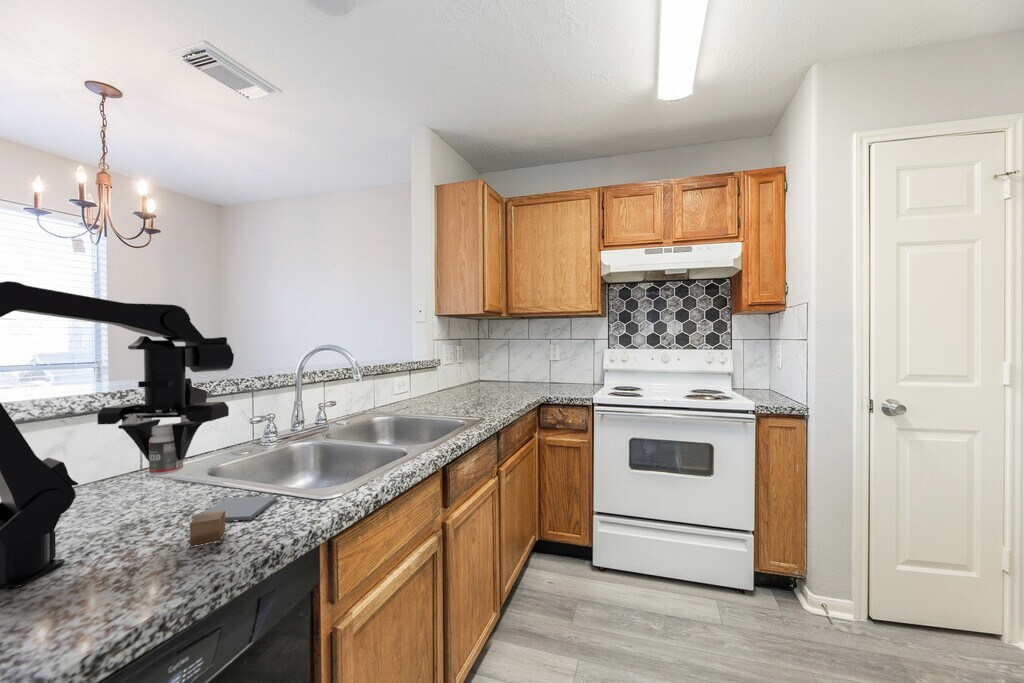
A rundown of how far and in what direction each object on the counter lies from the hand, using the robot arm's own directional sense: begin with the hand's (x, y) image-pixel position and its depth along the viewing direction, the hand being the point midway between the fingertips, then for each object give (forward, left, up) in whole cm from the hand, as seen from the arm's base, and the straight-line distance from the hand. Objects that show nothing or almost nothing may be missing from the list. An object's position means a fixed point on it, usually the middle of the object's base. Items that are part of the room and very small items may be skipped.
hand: (166, 459), depth 74 cm
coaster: (+6, -9, -12) cm, 16 cm away
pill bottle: (0, 0, -2) cm, 2 cm away
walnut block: (-6, -11, -12) cm, 17 cm away
